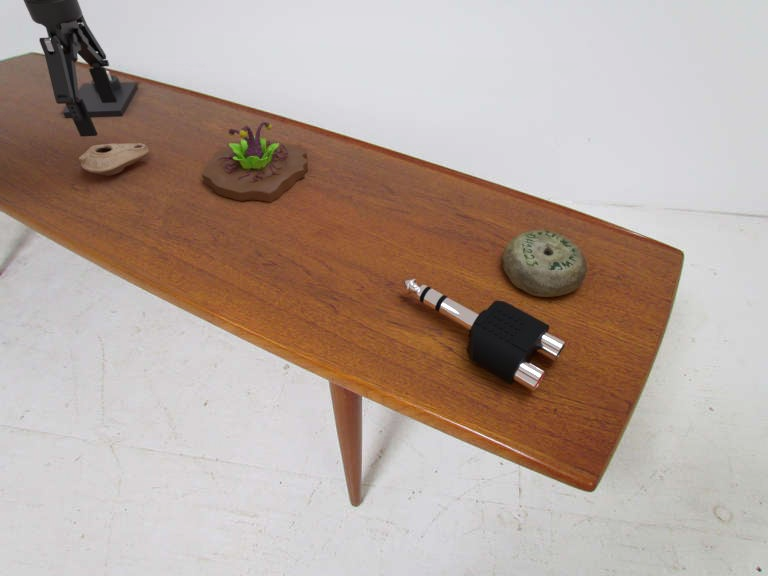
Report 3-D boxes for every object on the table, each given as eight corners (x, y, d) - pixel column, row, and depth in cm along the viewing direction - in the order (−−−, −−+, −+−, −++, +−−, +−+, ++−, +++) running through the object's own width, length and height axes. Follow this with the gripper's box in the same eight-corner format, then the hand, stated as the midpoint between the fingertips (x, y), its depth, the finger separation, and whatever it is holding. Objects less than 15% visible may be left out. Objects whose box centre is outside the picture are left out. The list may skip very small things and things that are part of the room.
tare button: (96, 83, 124) (93, 75, 123) (100, 78, 127) (97, 70, 125) (110, 83, 125) (106, 75, 123) (113, 78, 127) (110, 70, 126)
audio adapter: (536, 380, 61) (379, 287, 72) (526, 403, 65) (379, 312, 76) (573, 328, 67) (424, 250, 78) (562, 352, 71) (421, 274, 82)
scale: (65, 118, 118) (58, 104, 115) (87, 88, 129) (81, 75, 127) (122, 116, 119) (117, 102, 117) (138, 87, 131) (134, 73, 128)
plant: (187, 190, 98) (171, 138, 90) (236, 143, 111) (226, 94, 103) (280, 210, 94) (271, 157, 86) (320, 158, 107) (315, 108, 99)
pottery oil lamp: (157, 168, 103) (135, 149, 96) (105, 194, 103) (80, 177, 96) (145, 136, 106) (124, 116, 99) (95, 162, 106) (70, 143, 99)
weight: (570, 312, 77) (580, 290, 73) (488, 282, 81) (493, 259, 78) (590, 261, 85) (600, 239, 82) (515, 236, 90) (521, 214, 86)
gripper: (51, -28, 88) (98, 90, 103) (-12, 18, 71) (56, 152, 86) (95, -29, 89) (136, 89, 104) (43, 16, 71) (101, 150, 86)
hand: (100, 117), depth 95 cm, fingers open, 13 cm apart
